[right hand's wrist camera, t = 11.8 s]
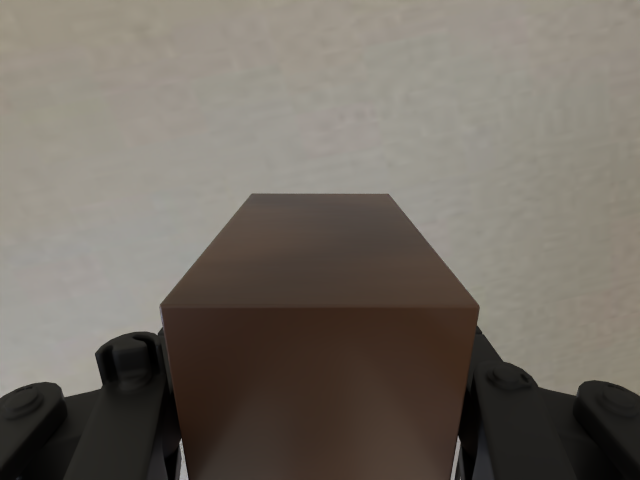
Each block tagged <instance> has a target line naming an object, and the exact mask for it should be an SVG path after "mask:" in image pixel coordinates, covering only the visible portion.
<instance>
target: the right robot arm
mask: <svg viewBox="0 0 640 480" xmlns="http://www.w3.org/2000/svg"><path fill="white" fill-rule="evenodd" d="M95 356H96V360H97V364H98V368H99V372H100V376H101V380H102V384H103V386H102V388H101V389H98V390H95V391H91V392H87V393H82V394H78V395H73V396H69V397H64V396H63V393H62V389H61V387H59V386H58V385H57V384H56V383H49V382H42V383H34V384H30V385H26V386H23V387H21V388H18V389H16V390H14V391H12V392H10V393H8V394H6V395H4V396H3V397H1V398H0V480H179V477H180V468H181V459H182V458H181V451H180V445H179V442H180V440H181V438H182V437H181V431H180V425H179V419H178V414H177V408H176V402H175V396H174V390H173V384H172V378H171V372H170V366H169V360H168V354H167V348H166V342H165V337H164V331H163V327H162V328H161V330H160V331H159V333H158V336H157V335H156V334H154V333H150V332H133V333H128V334H124V335H121V336H119V337H116V338H114V339H112V340H110V341H108V342H107V343H105V344H104V345H102V346H101V347H100V348H99V350H98V351H97V352H96V353H95ZM458 436H459V439H460V441H461V445H460V451H459V456H458V462H457V468H456V473H455V480H460V476H461V480H640V396H638V395H637V394H635V393H633V392H631V391H629V390H627V389H625V388H624V387H621V386H619V385H615V384H612V383H609V382H603V381H596V380H593V381H587V382H584V383H583V384H581V385H580V386H579V388H578V392H577V395H576V396H574V395H569V394H565V393H560V392H556V391H551V390H547V389H543V388H540V387H538V385H537V383H536V382H535V381H534V379H533V378H532V376H530V375H529V374H528V373H527V372H525V371H524V370H523V369H521V368H519V367H517V366H515V365H513V364H510V363H506V362H503V361H502V359H501V358H500V356H499V355H498V354H497V352H496V351H495V349H494V348H493V347H492V345H491V344H490V342H489V341H488V340H487V338H486V337H485V336H484V334H482V331H481V330H480V329H479V327H478V326H476V332H475V338H474V344H473V350H472V356H471V361H470V367H469V373H468V379H467V385H466V391H465V397H464V402H463V408H462V414H461V420H460V426H459V432H458Z"/></svg>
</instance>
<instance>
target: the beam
mask: <svg viewBox="0 0 640 480" xmlns="http://www.w3.org/2000/svg"><path fill="white" fill-rule="evenodd" d="M479 309H480V307H479V305H478V303H477V302H476V301H475V300H474V298H473V297H472V296H471V295H470V293H469V292H468V291H467V290H466V289H465V287H464V286H463V285H462V284H461V282H460V281H459V280H458V279H457V277H456V276H455V275H454V274H453V273H452V271H451V270H450V269H449V268H448V266H447V265H446V264H445V263H444V261H443V260H442V259H441V258H440V257H439V255H438V254H437V253H436V252H435V250H434V249H433V248H432V247H431V245H430V244H429V243H428V242H427V241H426V239H425V238H424V237H423V236H422V234H421V233H420V232H419V231H418V229H417V228H416V227H415V226H414V225H413V223H412V222H411V221H410V220H409V218H408V217H407V216H406V215H405V213H404V212H403V211H402V210H401V209H400V207H399V206H398V205H397V204H396V202H395V201H394V200H393V199H392V197H391V196H390V195H389V194H251V195H250V196H249V198H248V199H247V200H246V201H245V202H244V204H243V205H242V206H241V207H240V209H239V210H238V211H237V212H236V213H235V215H234V216H233V217H232V218H231V219H230V221H229V222H228V223H227V224H226V225H225V227H224V228H223V229H222V230H221V232H220V233H219V234H218V235H217V236H216V238H215V239H214V240H213V241H212V242H211V244H210V245H209V246H208V247H207V248H206V250H205V251H204V252H203V253H202V255H201V256H200V257H199V258H198V259H197V261H196V262H195V263H194V264H193V265H192V267H191V268H190V269H189V270H188V272H187V273H186V274H185V275H184V276H183V278H182V279H181V280H180V281H179V282H178V284H177V285H176V286H175V287H174V288H173V290H172V291H171V292H170V293H169V295H168V296H167V297H166V298H165V299H164V301H163V302H162V303H161V304H160V313H161V319H162V325H163V331H164V337H165V342H166V348H167V354H168V360H169V366H170V372H171V378H172V384H173V390H174V396H175V402H176V408H177V414H178V419H179V425H180V431H181V437H182V443H183V449H184V455H185V461H186V467H187V473H188V479H189V480H450V479H451V473H452V467H453V461H454V455H455V449H456V443H457V438H458V432H459V426H460V420H461V414H462V408H463V402H464V397H465V391H466V385H467V379H468V373H469V367H470V361H471V356H472V350H473V344H474V338H475V332H476V326H477V320H478V315H479Z"/></svg>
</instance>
